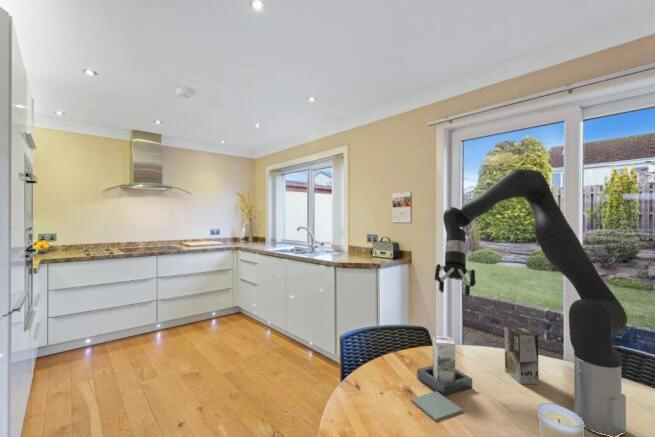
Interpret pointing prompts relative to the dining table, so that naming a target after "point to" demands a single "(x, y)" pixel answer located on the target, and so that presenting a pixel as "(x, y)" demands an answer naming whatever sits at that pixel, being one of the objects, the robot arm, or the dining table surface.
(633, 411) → the dining table surface
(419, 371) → the socket block
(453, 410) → the slate coaster
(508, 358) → the coffee box
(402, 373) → the dining table surface
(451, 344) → the syrup box
